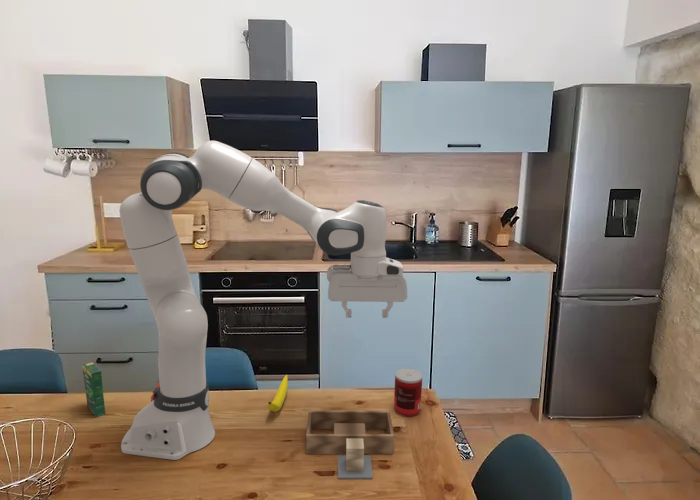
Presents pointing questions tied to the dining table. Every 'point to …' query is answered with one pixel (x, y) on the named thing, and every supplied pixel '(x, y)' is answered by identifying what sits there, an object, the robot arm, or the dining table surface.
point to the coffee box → (94, 389)
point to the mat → (354, 475)
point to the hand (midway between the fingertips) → (366, 317)
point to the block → (354, 454)
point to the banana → (279, 396)
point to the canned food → (407, 392)
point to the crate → (349, 431)
